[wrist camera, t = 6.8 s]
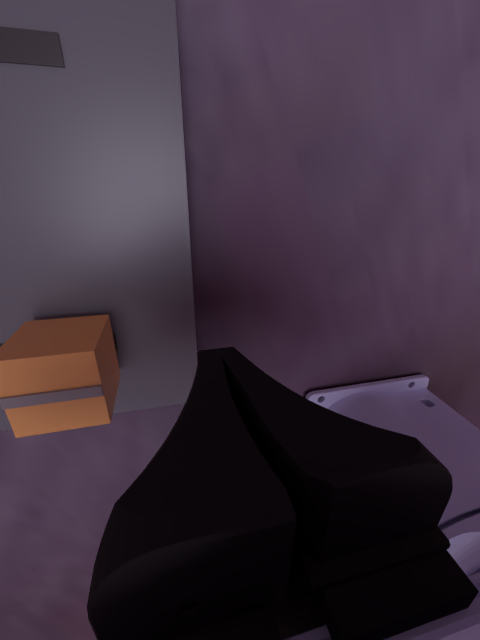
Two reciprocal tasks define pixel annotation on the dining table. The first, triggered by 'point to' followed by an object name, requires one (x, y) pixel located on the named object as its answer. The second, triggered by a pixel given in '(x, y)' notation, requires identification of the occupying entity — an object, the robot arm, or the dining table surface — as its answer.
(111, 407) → the fader orange
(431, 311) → the dining table surface
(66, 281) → the mixer board
